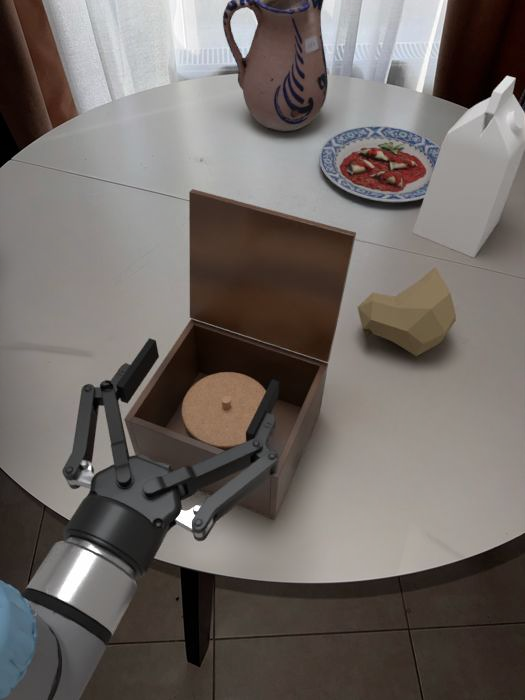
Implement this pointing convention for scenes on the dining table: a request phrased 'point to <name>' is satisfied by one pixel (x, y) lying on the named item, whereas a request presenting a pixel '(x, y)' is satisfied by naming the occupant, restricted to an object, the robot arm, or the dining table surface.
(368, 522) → the dining table surface
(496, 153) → the milk
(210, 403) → the trinket box
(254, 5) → the ceramic pitcher
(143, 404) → the chest
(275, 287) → the lid
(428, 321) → the tan faceted lump
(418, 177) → the ceramic plate
